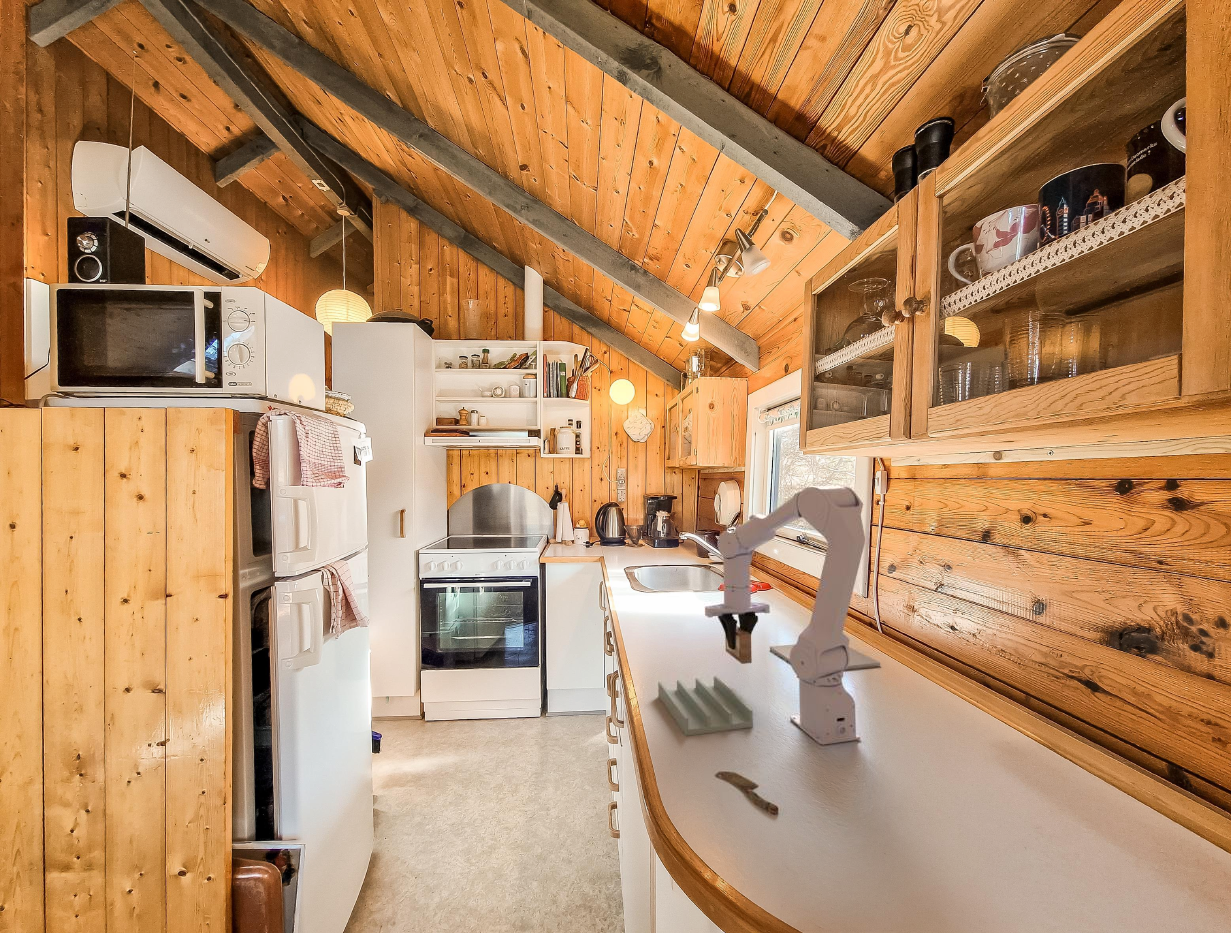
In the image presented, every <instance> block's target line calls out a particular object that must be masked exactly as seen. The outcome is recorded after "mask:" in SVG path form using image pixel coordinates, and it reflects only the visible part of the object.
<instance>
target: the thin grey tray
mask: <svg viewBox="0 0 1231 933" xmlns="http://www.w3.org/2000/svg"><path fill="white" fill-rule="evenodd" d="M795 645H796V643H795V644H786V645H785V644H784V645H774V646H773V645H771V646H769V651H770V650H771V651H770V652H772V653H773V652H774V653H773V654H775V655H776V654H777V655H776V656H778V657H779V656H780V657H779V658H781V657H782V658H783V659H782V658H781V659H782V660H784V659H785V660H786V661H785V660H784V661H785V662H787V661H788V662H789V663H788V662H787V663H788V664H790V651H791V649H792V648H793V647H794V646H795ZM848 650H849V655H850V663H849V666H848V667H847V669H845V670H844V671H848V670H849V671H851V670H861V669H870V668H879V667H881V662H880V661H878V660H876V659H874V658H872V657H870V656H868V655H866V654H863V653H861V652H859V651H858V650H856V649H854V648H852V647H850V646H848Z"/></svg>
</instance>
